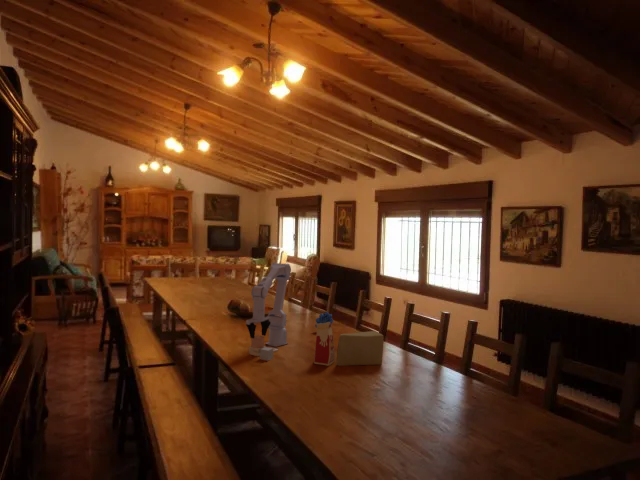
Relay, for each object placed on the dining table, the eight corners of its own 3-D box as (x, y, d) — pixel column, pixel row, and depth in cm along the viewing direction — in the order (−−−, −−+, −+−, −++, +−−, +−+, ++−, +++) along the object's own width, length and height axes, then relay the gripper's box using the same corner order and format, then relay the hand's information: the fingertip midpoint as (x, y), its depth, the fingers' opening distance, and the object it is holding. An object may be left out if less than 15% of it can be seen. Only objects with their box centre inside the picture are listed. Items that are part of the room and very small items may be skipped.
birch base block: (257, 352, 248) (257, 344, 247) (265, 354, 244) (266, 346, 244) (248, 354, 243) (249, 346, 242) (257, 356, 239) (258, 348, 239)
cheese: (341, 368, 225) (342, 337, 224) (333, 362, 234) (334, 332, 233) (383, 365, 233) (384, 334, 232) (373, 359, 242) (375, 329, 241)
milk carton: (335, 360, 237) (336, 320, 236) (329, 366, 228) (331, 324, 227) (317, 358, 240) (319, 318, 239) (311, 363, 231) (312, 322, 230)
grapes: (330, 329, 302) (330, 310, 301) (334, 332, 295) (335, 312, 295) (312, 330, 297) (313, 310, 297) (316, 332, 291) (317, 313, 291)
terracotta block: (263, 346, 243) (264, 336, 243) (257, 348, 240) (257, 338, 240) (258, 344, 246) (258, 335, 246) (251, 346, 243) (251, 336, 243)
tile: (269, 347, 256) (269, 346, 256) (278, 350, 251) (278, 349, 251) (259, 349, 250) (259, 348, 250) (268, 352, 246) (268, 351, 246)
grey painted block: (265, 357, 239) (265, 347, 239) (272, 358, 237) (273, 348, 237) (260, 359, 235) (260, 349, 235) (267, 360, 233) (268, 350, 233)
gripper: (264, 306, 250) (263, 332, 251) (242, 310, 239) (241, 337, 240) (273, 309, 246) (272, 335, 246) (251, 312, 235) (250, 340, 235)
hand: (258, 336), depth 243 cm, fingers open, 7 cm apart
